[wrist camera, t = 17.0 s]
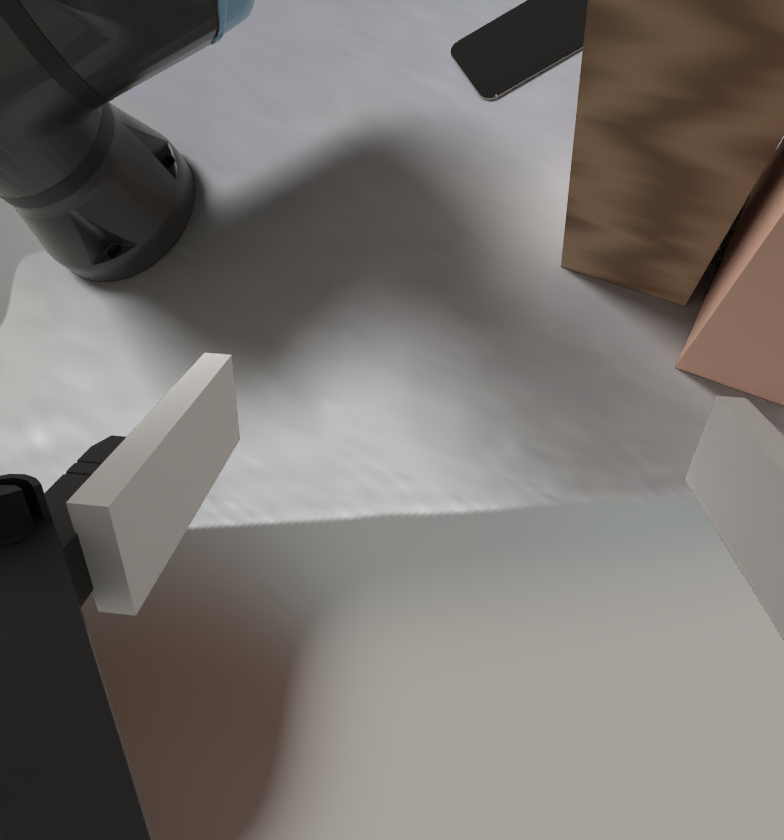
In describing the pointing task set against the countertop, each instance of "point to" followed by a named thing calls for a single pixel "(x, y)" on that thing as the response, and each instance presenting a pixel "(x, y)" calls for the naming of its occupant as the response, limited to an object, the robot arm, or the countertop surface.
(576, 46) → the smartphone
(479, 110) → the countertop surface
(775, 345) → the pink rectangular box
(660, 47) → the stand
